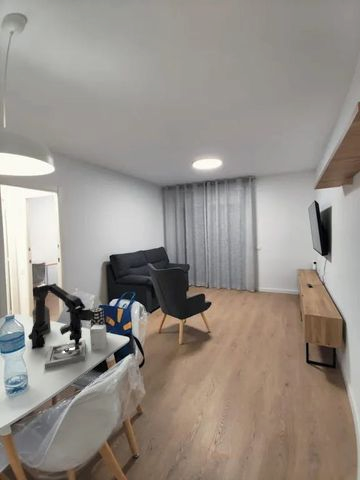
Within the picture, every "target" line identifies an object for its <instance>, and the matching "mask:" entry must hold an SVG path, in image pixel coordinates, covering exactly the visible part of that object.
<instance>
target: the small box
mask: <svg viewBox="0 0 360 480" xmlns="http://www.w3.org/2000/svg"><path fill="white" fill-rule="evenodd" d="M89 337H90V338H89V339H90V350H92V351H93V350H104V349H106V347H107V345H108V337H107V325H106V324H104V325H93V326H92V327H91V326H90V329H89Z"/></svg>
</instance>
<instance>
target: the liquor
mask: <svg viewBox="0 0 360 480" xmlns="http://www.w3.org/2000/svg"><path fill="white" fill-rule="evenodd" d="M50 313H51V312H50V308H49V307H48V306H47V305H46V304H45V322H46V323H48V330H47V332H46V334H45V335H47V334H49V333H50V332H51V329H52V328H51V316H50V315H51V314H50ZM35 321H36V306H35V307H34V308H33V309H32V325H34V323H35Z"/></svg>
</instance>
